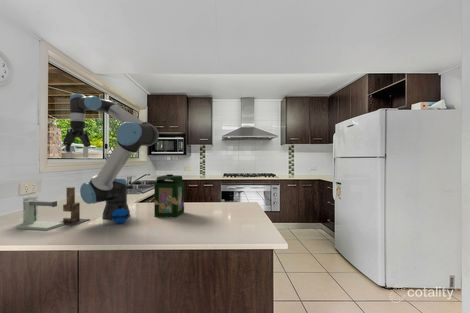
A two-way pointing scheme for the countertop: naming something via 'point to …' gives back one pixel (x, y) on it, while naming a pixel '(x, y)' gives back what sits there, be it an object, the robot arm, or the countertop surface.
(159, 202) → the container
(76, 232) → the countertop surface
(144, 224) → the countertop surface
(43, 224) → the stand
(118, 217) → the ornament
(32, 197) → the syrup box
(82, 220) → the mat
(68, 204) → the brown long angular piece
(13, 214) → the countertop surface
